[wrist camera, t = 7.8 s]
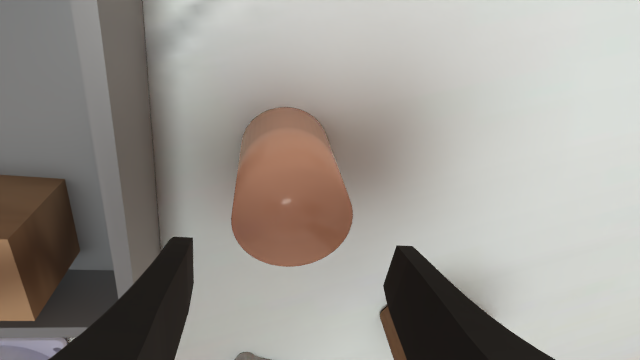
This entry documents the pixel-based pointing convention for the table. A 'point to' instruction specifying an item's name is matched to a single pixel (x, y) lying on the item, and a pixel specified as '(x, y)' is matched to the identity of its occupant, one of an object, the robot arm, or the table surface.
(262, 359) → the office telephone
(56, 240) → the walnut block
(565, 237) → the table surface
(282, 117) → the terracotta cylinder
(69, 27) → the tote
